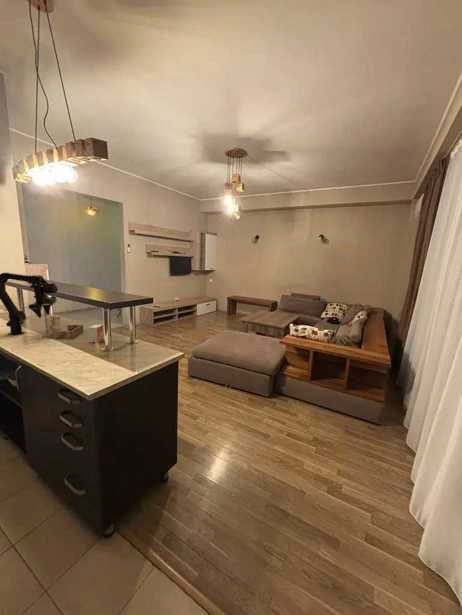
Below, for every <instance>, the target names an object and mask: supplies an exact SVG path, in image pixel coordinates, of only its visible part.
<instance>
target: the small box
mask: <svg viewBox="0 0 462 615" xmlns="http://www.w3.org/2000/svg"><path fill="white" fill-rule="evenodd" d="M102 340H104V324H94V325H91V326H88V341H89V343H93V342H95V343H96V344H97V342H98V343H99V342H102Z"/></svg>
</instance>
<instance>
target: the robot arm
mask: <svg viewBox="0 0 462 615" xmlns="http://www.w3.org/2000/svg"><path fill="white" fill-rule="evenodd" d="M9 280H12V281H20V282H25V283H26V282H27V283H28V284H30V286H29V287H28V288H30V289H33V293H34V295H33V298H35V302H34V303H30V304H28V309H29V310H30V311H32V312H34V313H35V315H36V316H37V318H39V319H41V318H42V309H43V310H44V312H45V313H46V316H47V315H48V316H50V311H51V307H52V306H53V305H54V304H56V302H57V297H56V296H55V297H54V296H53V295H52V296H51V297H50V296H48V294H57V293H58V289H59V288H58V287H57V285H56V283H54V282H53V283H49V282H47V280H46V279H45V278H44V277H43V276H42V275H39V274H38V275H37V274H34V275H26V274H19V273H10V272H1V273H0V301H1V303H2V305H3V306H4V307H5V308H6V310H7V312H8V318H9V320H8V321H6V324H5V325H6V327H9V330H10V332H8V333H7V334H8V335H12V336H18V335H21V334H22V335H23V334H25V331H23V328H22V324H24V322H25V321H26V319H27V316H26V315H27V314H25V312H24V311H23V310H19V308H17V306H16V305H15V303H14V302H13V300H12V298H11V297H10V295H9V294H8V292H7V288H6V286H7V285H6V283H7V282H8V281H9ZM56 292H57V293H56Z"/></svg>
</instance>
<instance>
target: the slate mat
mask: <svg viewBox="0 0 462 615" xmlns="http://www.w3.org/2000/svg"><path fill="white" fill-rule="evenodd" d="M41 338H56V335H49V332H48V333H46V334H44V335H41Z"/></svg>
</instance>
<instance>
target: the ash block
mask: <svg viewBox="0 0 462 615" xmlns="http://www.w3.org/2000/svg"><path fill="white" fill-rule="evenodd" d="M47 322H48V333H49V335H56V332H55V331H62V328H61V326H62V325H61V315H57V314H56V315H53V314H52V315H48V318H47Z"/></svg>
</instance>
